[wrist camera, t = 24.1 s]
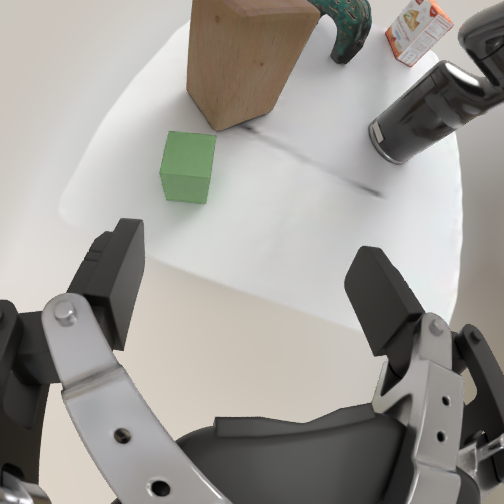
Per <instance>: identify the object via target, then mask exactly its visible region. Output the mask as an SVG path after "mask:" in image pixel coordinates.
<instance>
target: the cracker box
mask: <svg viewBox="0 0 504 504" xmlns="http://www.w3.org/2000/svg"><path fill="white" fill-rule="evenodd" d="M453 26H454V24H453V23H452V22H451V20H450V19H449V18H448V16H447V15H446V14H445V13H444V11H443V10H442V9H441V8H440V7H439V6H438V4H437V3H436V2H435V1H434V0H411V2H410V3H409V4H408V5H407V6H406V8H405V9H404V10H403V11H402V13H401V14H400V15H399V16H398V17H397V19H396V20H395V21H394V23H393V24H392V25H391V26H390V27H389V29H388V30H387V31H386V32H385V33H386V35H387V38H388V40H389V42H390V45H391V47H392V50H393V52H394V55H395V58H396V59H398V60H399V61H401V62H403V63H405V64H407V65H408V66H410V67H412V66H413V65H414V64H415V63H416V62H417V61H418V60H419V59H420V58H421V57H422V56H423V55H424V54H425V53H426V52H427V51H428V50H429V49H430V48H431V47H432V46H433V45H434V44H435V43H436V42H438V41H439V40H440V39H441V38H442V36H444V35H445V34H446V33H447V32H448V31H449V30H450V29H451V28H452V27H453Z"/></svg>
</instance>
